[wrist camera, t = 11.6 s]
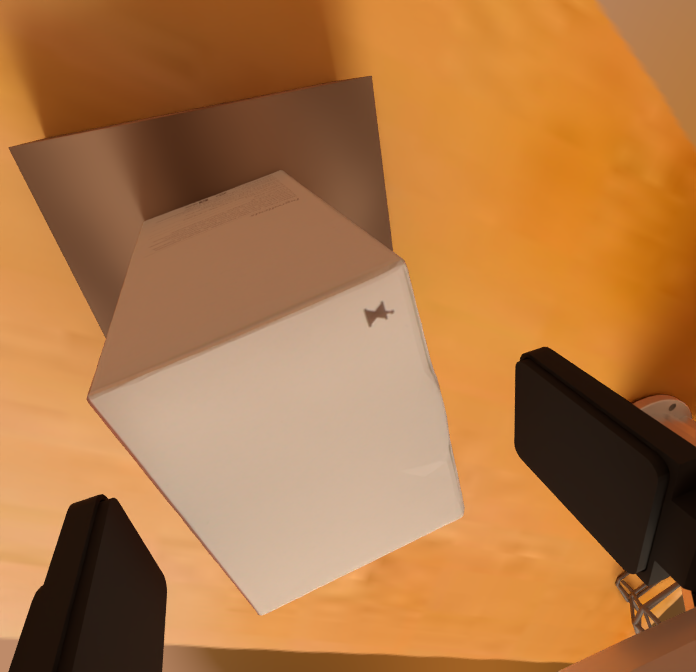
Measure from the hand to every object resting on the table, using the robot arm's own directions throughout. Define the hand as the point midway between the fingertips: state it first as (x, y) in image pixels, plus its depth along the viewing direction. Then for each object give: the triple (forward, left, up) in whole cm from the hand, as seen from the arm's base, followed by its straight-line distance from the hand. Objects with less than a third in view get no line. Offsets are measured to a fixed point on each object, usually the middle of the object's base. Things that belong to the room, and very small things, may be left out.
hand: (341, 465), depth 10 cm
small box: (0, 0, -13) cm, 13 cm away
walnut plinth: (0, 0, -18) cm, 18 cm away
